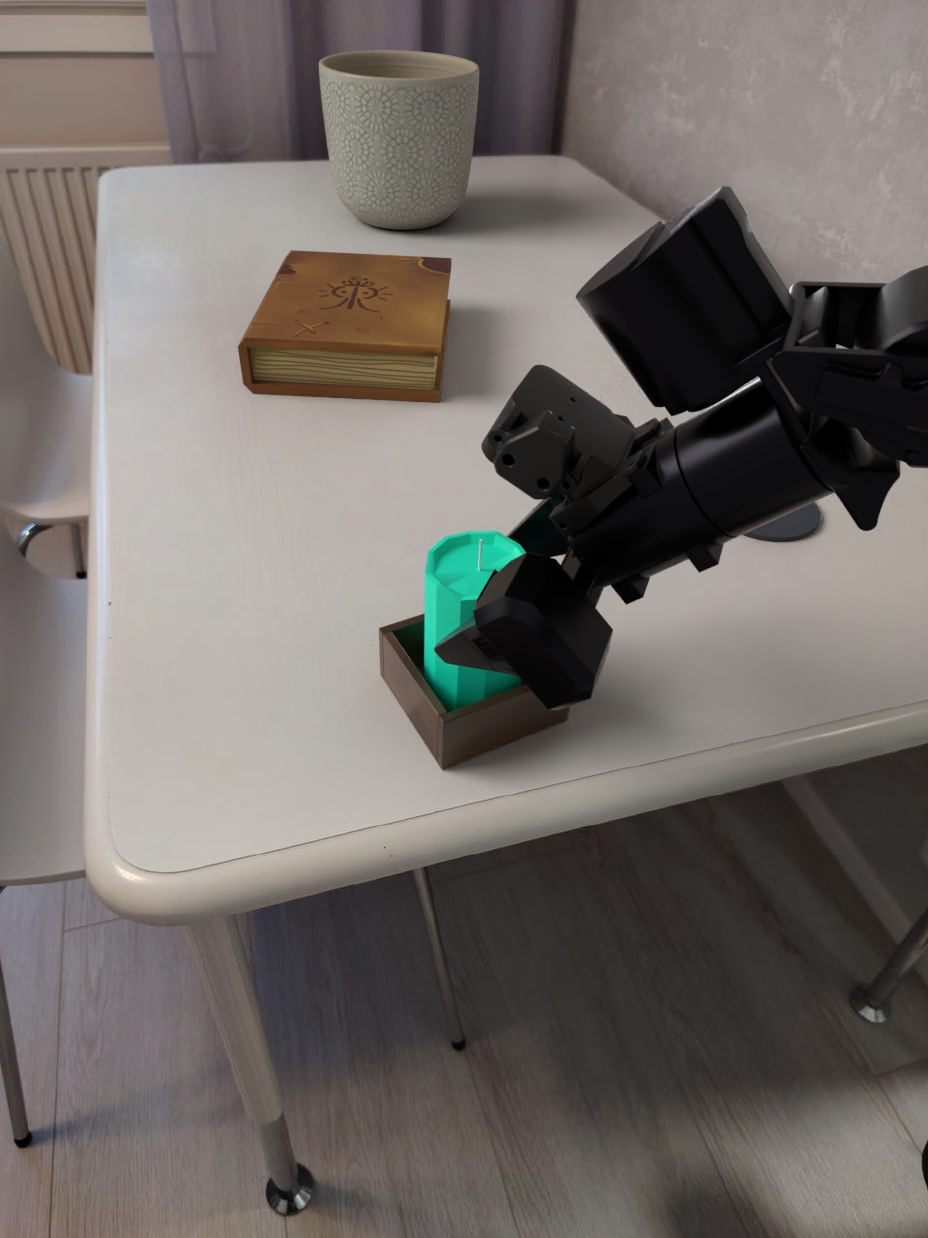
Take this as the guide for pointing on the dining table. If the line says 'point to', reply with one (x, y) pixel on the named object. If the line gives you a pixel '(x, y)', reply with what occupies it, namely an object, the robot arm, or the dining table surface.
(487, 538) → the candle
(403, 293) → the diary
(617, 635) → the dining table surface
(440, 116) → the planter
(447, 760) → the holder
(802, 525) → the coaster
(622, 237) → the dining table surface
